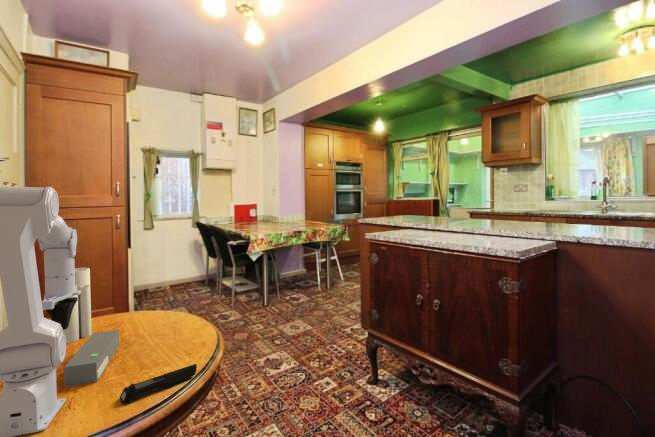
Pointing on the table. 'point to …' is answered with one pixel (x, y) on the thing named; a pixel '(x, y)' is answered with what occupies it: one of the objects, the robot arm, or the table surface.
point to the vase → (80, 308)
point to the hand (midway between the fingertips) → (61, 328)
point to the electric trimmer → (156, 383)
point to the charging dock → (91, 358)
